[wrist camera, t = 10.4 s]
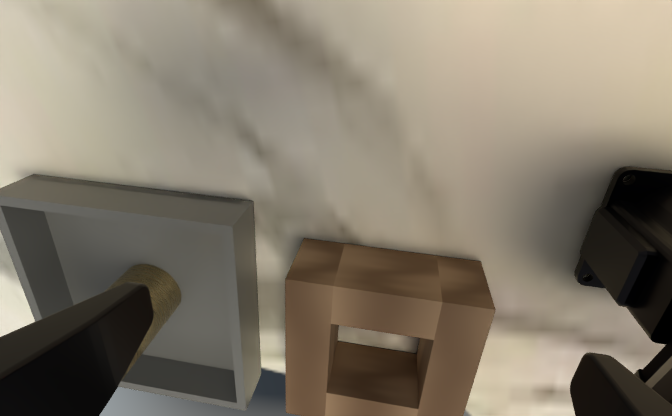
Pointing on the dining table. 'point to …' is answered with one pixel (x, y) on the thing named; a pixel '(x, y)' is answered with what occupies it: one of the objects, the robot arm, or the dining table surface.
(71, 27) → the dining table surface
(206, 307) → the charcoal tray
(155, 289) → the brass pin
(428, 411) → the walnut block
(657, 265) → the robot arm
